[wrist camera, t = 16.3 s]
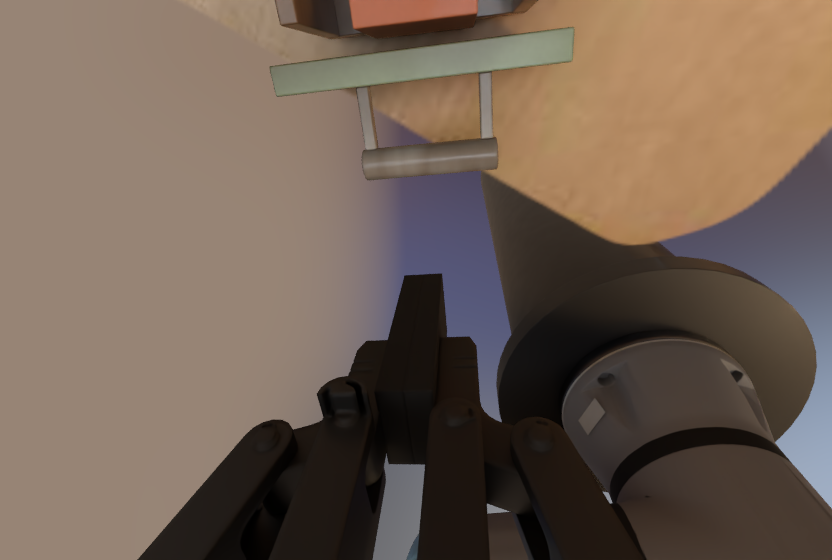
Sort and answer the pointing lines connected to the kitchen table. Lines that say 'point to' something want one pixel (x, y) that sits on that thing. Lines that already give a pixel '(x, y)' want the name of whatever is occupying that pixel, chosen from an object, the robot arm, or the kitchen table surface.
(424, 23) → the block
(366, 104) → the drawer
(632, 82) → the kitchen table surface
